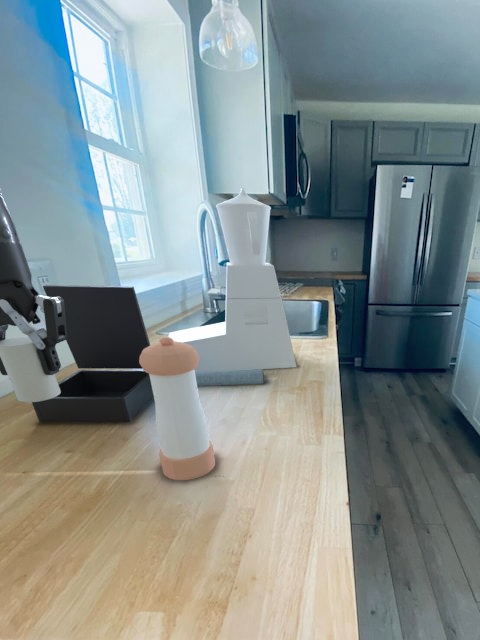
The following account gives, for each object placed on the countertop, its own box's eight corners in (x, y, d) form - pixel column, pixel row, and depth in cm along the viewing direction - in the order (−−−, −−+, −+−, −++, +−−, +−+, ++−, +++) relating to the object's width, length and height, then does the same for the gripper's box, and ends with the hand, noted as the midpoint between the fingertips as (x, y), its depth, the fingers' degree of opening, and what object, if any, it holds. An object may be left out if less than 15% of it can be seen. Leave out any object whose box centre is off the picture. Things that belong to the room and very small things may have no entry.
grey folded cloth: (160, 391, 80) (157, 376, 79) (166, 380, 86) (163, 366, 84) (264, 386, 84) (263, 372, 82) (263, 376, 90) (262, 363, 88)
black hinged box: (131, 425, 65) (124, 398, 63) (40, 426, 64) (30, 398, 62) (161, 393, 79) (156, 369, 77) (87, 393, 78) (79, 369, 76)
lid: (132, 287, 66) (142, 278, 70) (42, 286, 65) (59, 277, 70) (155, 368, 76) (163, 356, 80) (78, 368, 75) (90, 356, 80)
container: (8, 402, 51) (-16, 345, 47) (33, 389, 56) (12, 336, 52) (47, 402, 51) (26, 346, 48) (68, 389, 56) (50, 336, 52)
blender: (161, 377, 88) (121, 176, 69) (170, 356, 103) (140, 187, 85) (297, 370, 95) (294, 186, 76) (286, 351, 111) (281, 195, 92)
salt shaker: (188, 488, 49) (161, 348, 40) (152, 473, 52) (119, 339, 43) (226, 463, 55) (209, 335, 46) (191, 451, 58) (169, 328, 49)
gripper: (60, 239, 48) (96, 365, 56) (-55, 237, 47) (-2, 365, 55) (21, 239, 41) (68, 382, 49) (-114, 237, 40) (-44, 382, 48)
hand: (31, 373), depth 52 cm, fingers closed on container, 5 cm apart
